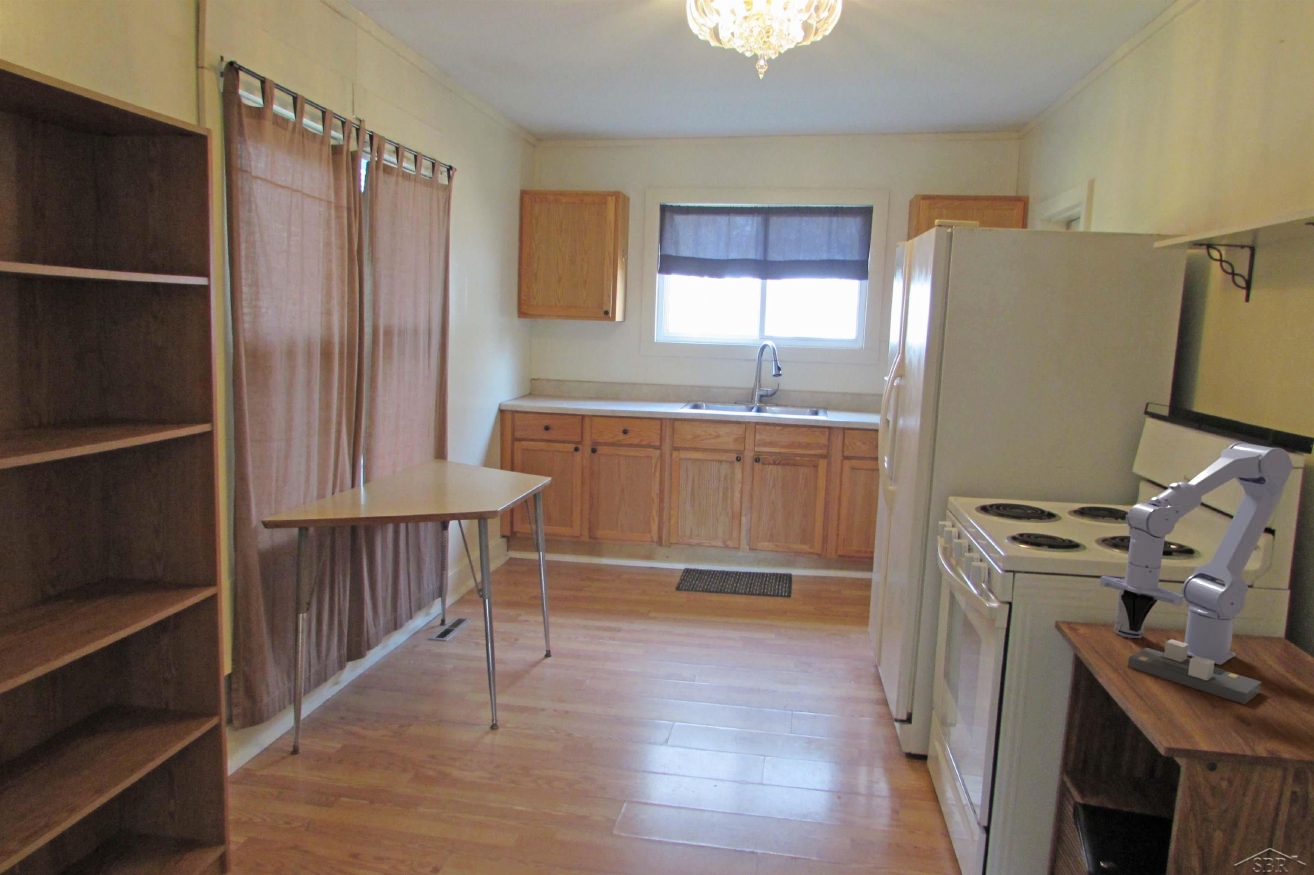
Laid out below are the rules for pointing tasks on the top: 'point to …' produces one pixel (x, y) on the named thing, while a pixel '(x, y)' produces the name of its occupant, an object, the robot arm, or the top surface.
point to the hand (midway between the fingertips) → (1134, 630)
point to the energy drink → (1124, 621)
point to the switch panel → (1177, 671)
